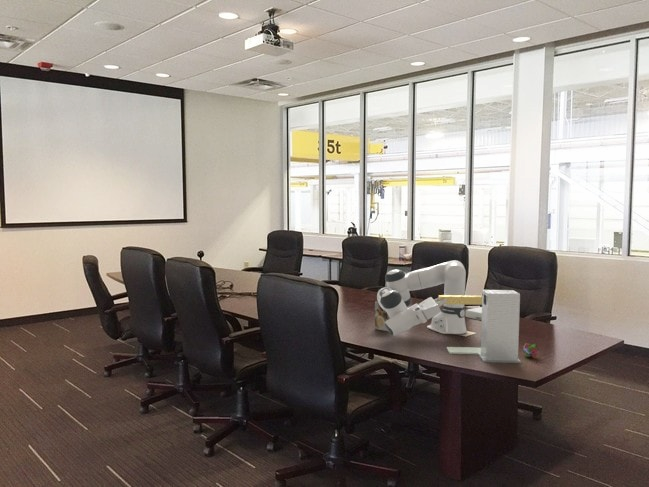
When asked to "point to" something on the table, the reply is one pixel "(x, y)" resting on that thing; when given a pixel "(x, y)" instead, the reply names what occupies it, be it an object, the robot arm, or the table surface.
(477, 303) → the brass bar
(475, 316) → the disc drive
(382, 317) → the coffee box
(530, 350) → the geometric puzzle
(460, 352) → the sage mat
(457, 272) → the robot arm
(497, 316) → the rack post
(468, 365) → the table surface
